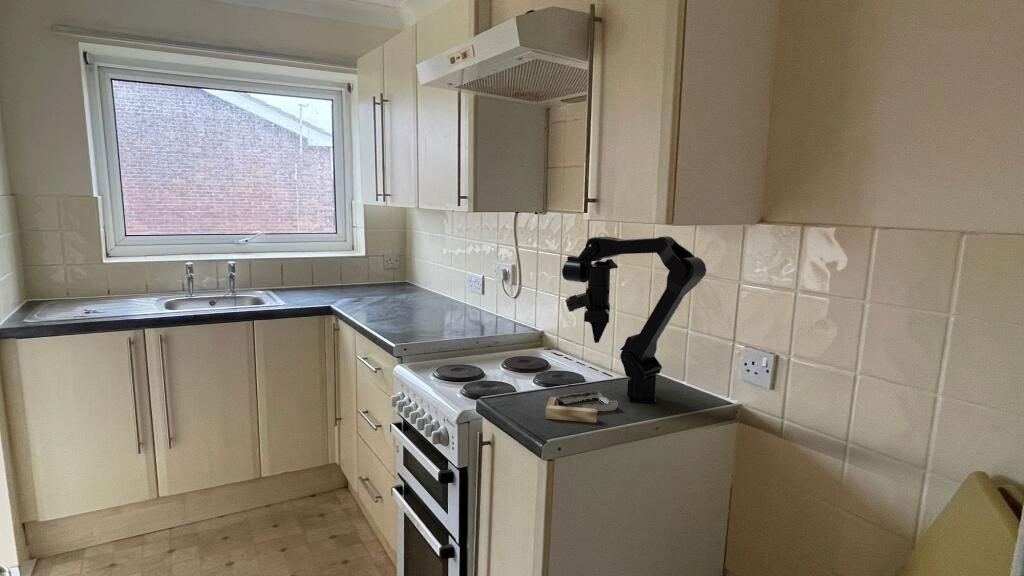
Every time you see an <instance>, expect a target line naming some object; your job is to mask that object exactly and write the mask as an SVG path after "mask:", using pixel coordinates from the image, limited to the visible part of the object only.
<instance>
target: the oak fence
mask: <svg viewBox="0 0 1024 576" xmlns="http://www.w3.org/2000/svg"><path fill="white" fill-rule="evenodd" d="M556 397H557V396H549V399H548V401H547V404H546V407H545V419H547V420H559V421H571V422H581V423H593V422H594V424H595V423H597V422H598V421H597V420H598V412H597V409H590V408H581V407H577V406H576V407H575V406H570V407H565V406H557V400H556Z"/></svg>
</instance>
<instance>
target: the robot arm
mask: <svg viewBox="0 0 1024 576" xmlns="http://www.w3.org/2000/svg"><path fill="white" fill-rule="evenodd" d="M632 254H657V255H658V256H659V258H660V260H661V262H662V265H664V267H666V269H667V270H668V274H667V276H666V286H665V289H664V291H663V292H662V294H661V297H660V298H659V300H658V301H657V303H656V305H655V307H654V309H653V310H652V312H651V314H650V315H649V317H648V318H647V319H646V322H645V324H644V326H643V327H642V328H641V330H640V333H638V334H634V335H630V336H628V337H627V338H626V339H625V342H624V344H623V346H622V347H621V348H620V351H621V352H620V355H619V358H620V361H621V364H622V366H623V370H624V374H625V377H626V378H627V379H626V380H627V383H626V386H627V387H626V397H627V398H628V402H631V403H632V402H634V403H645V404H656V403H657V402H656V401H657V400H656V388H657V387H656V384H657V383H656V382H657V381H656V380H657V377H656V375H659V374H660V373H661V370H662V368H663V366H662V365H661V363H660V362H659V360H658V359H657V358H656V356H655V355H656V352H657V346H658V341H659V338H660V337H661V335H662V333H664V330H665V329H666V327H667V325H668V323H669V322H670V320H671V319H672V317H673V315H675V311H677V309H678V308H679V305H680V304H681V302H682V301H683V299H684V298H685V296H686V295H687V294H688V293H689V292H690V291H692V290H693V289H694V288H695V287H696V286H697V285H698V284H700V282H701V281H702V279H704V277H705V276H706V273H707V267H706V264H705V262H704V261H703V259H701V257H698V256H695V255H694V254H693V253H692V252H691V251H689V250H688V249H687V248H685V247H684V246H682V244H679V243H678V242H677V240H676V239H674V238H673V237H671V236H667V235H666V236H657V237H651V238H650V237H649V238H635V239H634V238H632V239H630V238H628V239H624V238H623V239H622V238H618V237H613V236H592V237H589V238H588V239H587V241H586V244H585V247H584V248H583V249H582V251H581V253H580V254H579V255H578V256H577V255H576V256H575V255H569V256H567V260H566V261H565V262H564V264H563V267H562V268H561V274H562V275H561V276H562V278H563V279H564V280H565V281H567V282H575V283H587V288H586V290H585V292H584V293H580V294H574V295H570V296H569V297H567V298H566V299H565V300H564V301H565V304H566V305H565V306H566V308H567V309H568V313H569V312H574V311H575V310H578V309H581V308H584V307H585V309H586V310H585V311H584V314H583V315H584V316H583V322H584V323H589V324H590V325H591V330H592V336H593V342H594V343H595V344H599V343H600V341H601V338H602V336H603V334H604V333H605V329H606V327H607V326H608V324H609V323H610V311H611V303H610V289H611V288H610V287H611V270H612V269H613V270H614V269H618V268H619V266H618V264H617V263H615V262H614V260H613V259H612V258H613V257H619V256H621V255H632ZM603 259H606V260H605V261H604V260H603ZM592 262H593V263H592Z"/></svg>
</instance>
